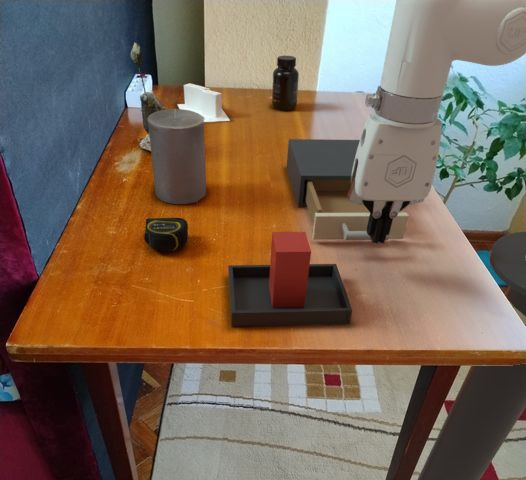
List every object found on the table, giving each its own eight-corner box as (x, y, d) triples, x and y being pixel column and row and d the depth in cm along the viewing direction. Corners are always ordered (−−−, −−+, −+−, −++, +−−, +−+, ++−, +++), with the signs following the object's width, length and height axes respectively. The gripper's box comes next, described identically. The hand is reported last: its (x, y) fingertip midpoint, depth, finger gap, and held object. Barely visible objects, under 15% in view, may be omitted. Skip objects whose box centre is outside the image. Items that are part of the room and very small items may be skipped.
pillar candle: (151, 185, 95) (141, 102, 85) (200, 180, 98) (196, 99, 88) (161, 208, 89) (151, 121, 78) (213, 201, 91) (210, 117, 81)
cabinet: (384, 207, 93) (391, 175, 88) (298, 207, 91) (301, 175, 87) (362, 168, 105) (367, 139, 101) (286, 168, 104) (288, 139, 100)
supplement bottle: (287, 102, 137) (290, 53, 129) (301, 109, 133) (305, 59, 124) (266, 105, 134) (268, 55, 126) (280, 112, 130) (283, 61, 122)
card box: (299, 286, 72) (305, 231, 66) (304, 307, 68) (311, 251, 62) (268, 286, 71) (272, 231, 65) (272, 308, 68) (276, 251, 62)
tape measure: (188, 234, 82) (187, 213, 80) (188, 256, 77) (186, 235, 75) (147, 234, 82) (144, 214, 79) (144, 256, 77) (141, 235, 74)
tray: (334, 276, 75) (336, 263, 73) (349, 323, 67) (352, 310, 65) (228, 278, 73) (228, 265, 72) (231, 327, 65) (231, 313, 64)
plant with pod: (138, 159, 104) (124, 51, 90) (139, 139, 112) (126, 38, 98) (177, 158, 105) (168, 52, 91) (175, 138, 113) (166, 38, 100)
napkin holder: (176, 104, 131) (174, 80, 127) (217, 102, 134) (217, 79, 130) (186, 123, 121) (185, 98, 117) (231, 120, 124) (231, 96, 120)
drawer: (410, 252, 79) (417, 228, 76) (317, 253, 78) (320, 229, 75) (377, 194, 94) (382, 173, 91) (299, 194, 93) (301, 172, 90)
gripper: (354, 114, 56) (331, 252, 69) (477, 117, 58) (433, 252, 70) (341, 94, 62) (321, 226, 74) (454, 98, 63) (416, 226, 76)
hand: (376, 238), depth 72 cm, fingers closed
